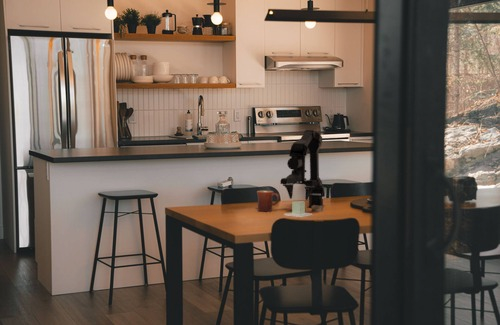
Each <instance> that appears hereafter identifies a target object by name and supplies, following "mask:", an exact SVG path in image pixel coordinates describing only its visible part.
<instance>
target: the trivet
mask: <svg viewBox="0 0 500 325" xmlns="http://www.w3.org/2000/svg"><path fill="white" fill-rule="evenodd" d="M284 216H287V217H288V216H289V217H297V218H305V217H309V216H313V212H312V213H311V212H305V214H292V211H291V212H287V213H286V212H285V213H284Z"/></svg>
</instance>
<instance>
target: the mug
mask: <svg viewBox="0 0 500 325" xmlns="http://www.w3.org/2000/svg"><path fill="white" fill-rule="evenodd" d="M256 194H257V211H258V212H260V213H261V212H262V213H269V212H271V211H272V210H273V206H276V205H277V204H278V203H279V200H280V195H279V194H278V193H277V192H274V190H257V191H256ZM273 196H276V201H275V202H273Z"/></svg>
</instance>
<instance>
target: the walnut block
mask: <svg viewBox="0 0 500 325" xmlns="http://www.w3.org/2000/svg"><path fill="white" fill-rule="evenodd" d="M323 211H324V205H323V206H319V205H313V206H312V208H311V212H312V213H322V212H323ZM311 212H310V213H311Z"/></svg>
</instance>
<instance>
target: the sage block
mask: <svg viewBox="0 0 500 325" xmlns="http://www.w3.org/2000/svg"><path fill="white" fill-rule="evenodd" d="M291 203H292V204H291V205H292V206H291V207H292V208H291V212H292V214H305V213H306V202H305V201H302V200H294V201H292V202H291Z"/></svg>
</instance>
